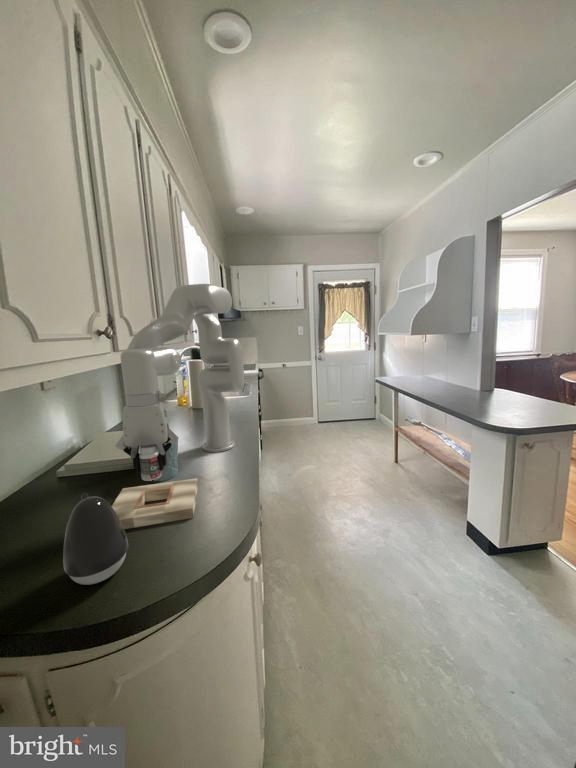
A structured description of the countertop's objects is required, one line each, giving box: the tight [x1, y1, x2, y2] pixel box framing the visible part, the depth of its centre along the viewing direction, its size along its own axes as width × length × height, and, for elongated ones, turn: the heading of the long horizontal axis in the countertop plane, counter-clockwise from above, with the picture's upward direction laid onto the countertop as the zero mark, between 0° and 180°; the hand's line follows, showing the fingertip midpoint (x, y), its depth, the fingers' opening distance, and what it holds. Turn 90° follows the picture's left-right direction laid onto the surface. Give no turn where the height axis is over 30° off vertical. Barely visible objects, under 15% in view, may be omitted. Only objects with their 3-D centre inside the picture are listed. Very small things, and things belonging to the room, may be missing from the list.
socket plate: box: [111, 477, 199, 530], centre depth 78 cm, size 16×20×3 cm
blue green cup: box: [153, 437, 179, 482], centre depth 96 cm, size 10×10×12 cm
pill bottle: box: [139, 444, 162, 482], centre depth 76 cm, size 5×5×8 cm
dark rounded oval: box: [62, 492, 129, 586], centre depth 56 cm, size 10×10×15 cm
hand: (151, 468), depth 76 cm, fingers closed on pill bottle, 4 cm apart
